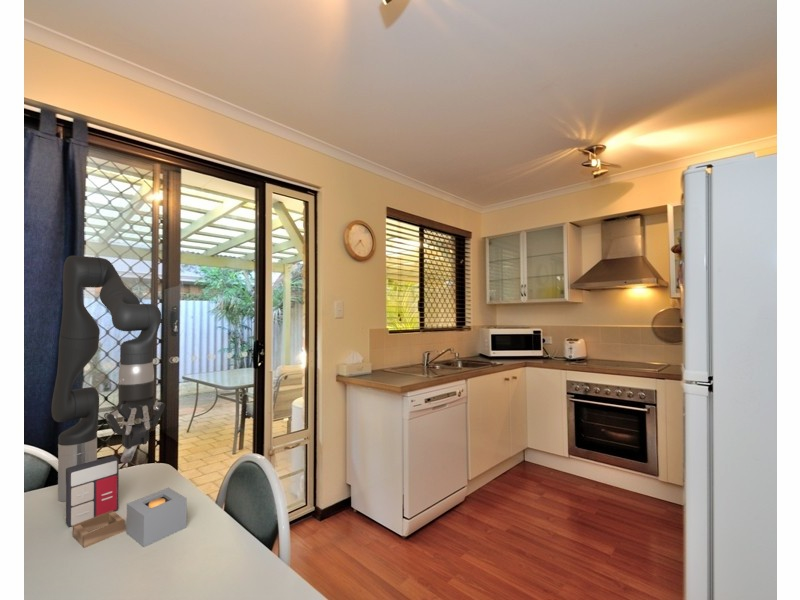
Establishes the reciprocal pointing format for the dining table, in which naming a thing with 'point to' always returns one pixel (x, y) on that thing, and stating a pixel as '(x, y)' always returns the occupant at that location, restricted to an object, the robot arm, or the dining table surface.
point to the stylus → (134, 441)
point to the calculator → (91, 489)
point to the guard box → (156, 517)
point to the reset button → (156, 502)
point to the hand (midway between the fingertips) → (135, 445)
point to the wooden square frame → (98, 528)
